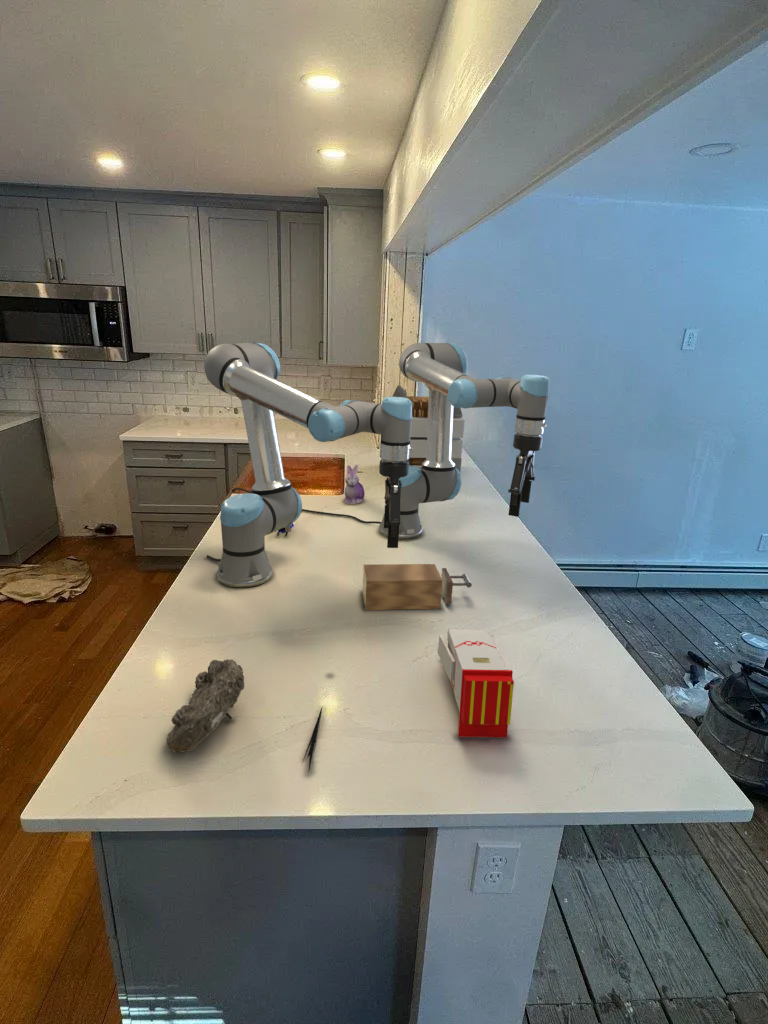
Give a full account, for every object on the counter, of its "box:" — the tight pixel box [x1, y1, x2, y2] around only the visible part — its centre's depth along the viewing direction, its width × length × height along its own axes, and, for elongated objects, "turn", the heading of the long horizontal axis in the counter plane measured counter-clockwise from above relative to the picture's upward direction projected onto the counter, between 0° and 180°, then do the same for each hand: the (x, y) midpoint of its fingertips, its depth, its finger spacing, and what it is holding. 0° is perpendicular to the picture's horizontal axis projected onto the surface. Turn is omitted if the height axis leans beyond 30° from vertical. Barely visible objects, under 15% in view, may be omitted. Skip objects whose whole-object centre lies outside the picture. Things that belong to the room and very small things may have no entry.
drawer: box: [440, 567, 473, 605], centre depth 154 cm, size 24×9×7 cm, turn 96°
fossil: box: [166, 658, 245, 754], centre depth 106 cm, size 22×10×15 cm
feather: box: [301, 673, 332, 771], centre depth 108 cm, size 2×28×2 cm
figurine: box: [343, 464, 366, 505], centre depth 228 cm, size 9×10×15 cm
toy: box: [437, 628, 515, 738], centre depth 117 cm, size 12×13×30 cm
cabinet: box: [362, 563, 442, 611], centre depth 153 cm, size 20×10×8 cm, turn 96°
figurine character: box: [274, 522, 295, 537], centre depth 197 cm, size 7×8×15 cm
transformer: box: [391, 384, 465, 475], centre depth 268 cm, size 34×33×41 cm
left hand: (390, 537), depth 151 cm, fingers open, 13 cm apart
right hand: (518, 508), depth 160 cm, fingers open, 13 cm apart
